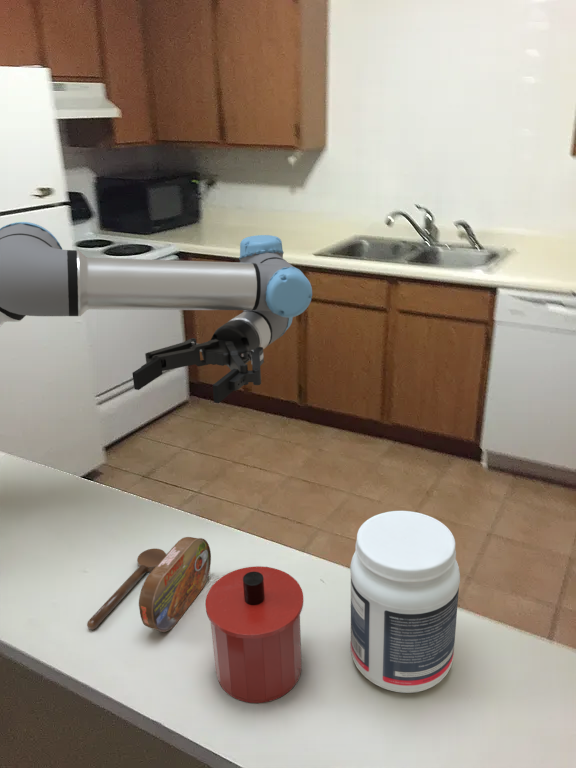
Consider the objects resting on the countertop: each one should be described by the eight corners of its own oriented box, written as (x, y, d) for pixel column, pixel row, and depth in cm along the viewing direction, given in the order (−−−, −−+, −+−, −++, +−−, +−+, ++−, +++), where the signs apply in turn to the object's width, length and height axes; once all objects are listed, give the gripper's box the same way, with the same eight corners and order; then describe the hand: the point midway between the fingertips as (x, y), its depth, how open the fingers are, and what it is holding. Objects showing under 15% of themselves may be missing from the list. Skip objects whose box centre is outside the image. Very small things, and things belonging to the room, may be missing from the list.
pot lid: (187, 626, 77) (184, 598, 75) (233, 565, 87) (231, 538, 85) (280, 654, 73) (278, 625, 71) (317, 586, 82) (317, 559, 81)
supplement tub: (467, 643, 86) (479, 525, 79) (429, 717, 76) (439, 590, 69) (376, 607, 93) (379, 495, 85) (331, 670, 83) (330, 550, 75)
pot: (201, 687, 81) (193, 621, 77) (240, 627, 90) (235, 564, 86) (281, 714, 77) (277, 646, 73) (313, 648, 86) (312, 584, 82)
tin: (159, 645, 87) (151, 595, 84) (139, 639, 89) (131, 589, 85) (214, 574, 100) (210, 527, 97) (196, 569, 101) (191, 523, 98)
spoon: (103, 636, 89) (101, 628, 89) (76, 627, 91) (75, 619, 90) (172, 557, 104) (171, 550, 103) (148, 551, 106) (147, 544, 105)
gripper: (308, 369, 112) (252, 424, 94) (180, 351, 121) (107, 398, 103) (307, 326, 109) (250, 375, 91) (176, 312, 118) (100, 353, 100)
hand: (174, 387), depth 97 cm, fingers open, 13 cm apart
